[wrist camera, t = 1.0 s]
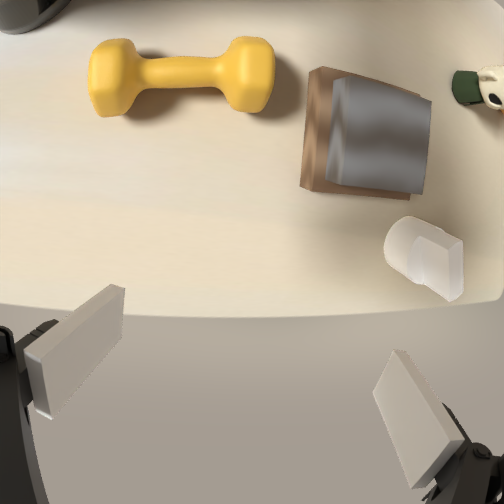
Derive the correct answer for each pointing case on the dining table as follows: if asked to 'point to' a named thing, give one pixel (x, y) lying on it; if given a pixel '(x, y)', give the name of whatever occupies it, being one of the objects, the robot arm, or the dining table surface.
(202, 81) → the dumbbell
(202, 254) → the dining table surface
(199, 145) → the dining table surface
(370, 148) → the grey and brown block
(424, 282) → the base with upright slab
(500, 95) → the character mug
